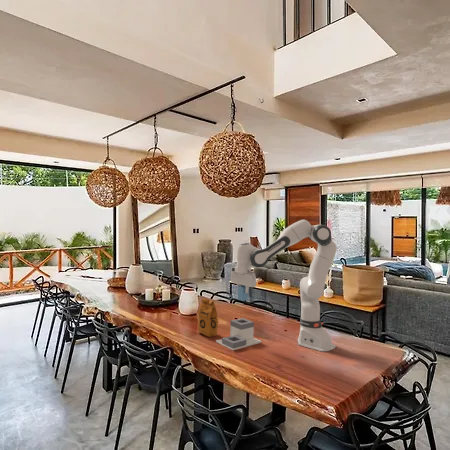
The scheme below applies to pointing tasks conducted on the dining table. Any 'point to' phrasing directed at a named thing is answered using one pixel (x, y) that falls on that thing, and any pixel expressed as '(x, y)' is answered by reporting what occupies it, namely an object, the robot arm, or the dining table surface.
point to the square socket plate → (239, 335)
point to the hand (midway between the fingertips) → (242, 292)
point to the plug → (242, 293)
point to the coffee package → (207, 318)
